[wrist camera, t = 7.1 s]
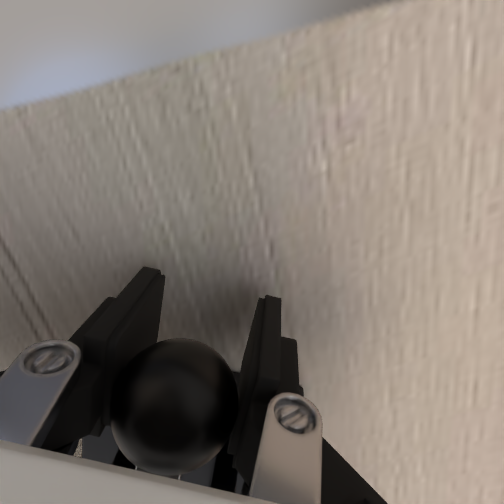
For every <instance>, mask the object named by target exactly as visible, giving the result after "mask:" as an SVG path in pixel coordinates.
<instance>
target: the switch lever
mask: <svg viewBox="0 0 504 504" xmlns="http://www.w3.org/2000/svg"><path fill="white" fill-rule="evenodd" d="M237 412H238V390H237V386H236V381H235V378H234V376H233V373H232V371H231V369H230V367H229V366H228V364H227V363H226V361H225V360H224V359H223V358H222V357H221V356H220V355H219V354H218V353H217V352H216V351H215V350H214V349H212V348H210V347H209V346H207V345H205V344H203V343H201V342H198V341H195V340H191V339H180V338H176V339H168V340H164V341H161V342H158V343H155V344H153V345H151V346H149V347H147V348H145V349H144V350H142V351H141V352H140V353H138V354H137V355H136V356H135V357H134V358H133V359H132V360H131V361H130V362H129V363H128V364H127V365H126V367H125V368H124V369H123V371H122V372H121V374H120V376H119V378H118V380H117V382H116V384H115V386H114V389H113V392H112V396H111V401H110V425H111V430H112V433H113V436H114V439H115V441H116V443H117V445H118V447H119V449H120V450H121V452H122V453H123V454H124V455H125V457H126V458H127V459H128V460H129V461H130V462H132V463H133V464H134V465H135V466H136V468H135V470H137V471H141V472H146V473H150V474H154V475H159V476H163V477H167V478H172V479H176V480H182V475H183V474H185V473H189V472H191V471H193V470H196V469H198V468H199V467H201V466H203V465H204V464H206V463H207V462H209V461H210V460H211V459H212V458H214V457H215V456H216V455H217V453H218V452H219V451H220V450H221V449H222V447H223V446H224V445H225V443H226V442H227V440H228V438H229V437H230V435H231V432H232V430H233V428H234V425H235V421H236V417H237Z"/></svg>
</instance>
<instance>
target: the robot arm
mask: <svg viewBox="0 0 504 504" xmlns="http://www.w3.org/2000/svg"><path fill="white" fill-rule="evenodd" d="M164 285H165V275H161V271H160V270H158V269H153V268H149V267H143V268H142V269H141V270H140V271H139V272H138V274H137V275H136V276H135V277H134V278H133V279H132V280H131V282H130V283H129V284H128V285H127V286H126V287H125V288H124V290H123V291H122V292H121V293H120V294H119V295H118V296H117V298H114V297H108V298H107V299H106V300H105V301H104V302H103V303H102V304H101V305H100V306H99V307H98V308H97V309H96V310H95V312H94V313H93V314H92V315H91V316H90V317H89V318H88V319H87V320H86V321H85V322H84V324H83V325H82V326H81V327H80V328H79V329H78V330H77V331H76V332H75V333H74V334H73V335H72V337H71V338H70V339H69V340H68V341H66V340H57V339H53V340H46V341H42V342H38V343H35V344H33V345H31V346H30V347H28V348H26V349H25V350H24V351H23V352H22V353H20V355H19V356H18V357H17V358H16V359H15V360H14V362H13V363H12V364H11V365H10V366H9V368H8V369H7V370H5V371H2V372H0V504H387V502H386V501H385V500H384V499H383V498H382V497H381V496H380V495H379V494H378V493H377V492H376V491H375V490H374V489H373V488H372V487H371V486H370V485H369V484H368V483H367V482H366V481H365V480H364V479H363V478H362V477H361V476H360V475H359V474H358V473H357V472H356V471H355V470H354V469H353V468H352V467H351V466H350V465H349V464H348V463H347V462H346V461H345V460H344V459H343V457H342V456H341V455H340V454H339V453H338V452H337V451H336V450H335V449H334V448H333V447H332V446H331V445H330V444H329V443H328V442H327V441H326V440H325V439H324V438H323V437H322V425H323V423H322V417H321V415H320V413H319V411H318V409H317V408H316V406H315V405H314V404H313V403H312V402H311V401H309V400H308V399H307V398H305V397H303V396H301V395H300V390H299V372H298V354H297V341H296V340H294V339H290V338H286V337H281V298H278V297H273V296H269V295H266V296H265V299H264V298H260V297H259V299H258V303H257V307H256V310H255V314H254V318H253V322H252V326H251V330H250V333H249V337H248V341H247V345H246V349H245V353H244V356H243V361H242V365H241V371H240V377H239V383H238V389H237V390H238V412H237V417H236V421H235V425H234V428H233V430H232V432H231V435H230V438H229V445H228V451H227V453H228V454H232V455H234V457H233V464H232V468H236V470H237V471H238V472H239V474H240V475H241V477H242V478H243V479H244V483H243V486H242V490H241V495H240V494H236V493H232V492H227V491H223V490H219V489H215V488H210V487H206V486H202V485H198V484H193V483H189V482H185V481H181V480H176V479H172V478H167V477H163V476H159V475H154V474H150V473H146V472H141V471H137V470H133V469H128V468H124V467H120V466H115V465H111V464H106V463H102V462H98V461H93V460H89V459H84V458H80V457H76V456H73V455H74V453H75V450H76V448H77V446H78V442H79V439H80V438H83V437H85V436H87V435H92V436H96V437H100V435H101V434H102V432H103V430H104V428H105V426H110V427H111V425H110V401H111V396H112V392H113V389H114V386H115V384H116V382H117V380H118V378H119V376H120V374H121V372H122V371H123V369H124V368H125V367H126V365H127V364H128V363H129V362H130V361H131V360H132V359H133V358H134V357H135V356H136V355H137V354H138V353H140V352H141V351H142V350H144V349H145V348H147V347H149V346H151V345H153V344H155V343H156V342H157V337H158V330H159V323H160V315H161V307H162V300H163V292H164Z"/></svg>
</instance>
